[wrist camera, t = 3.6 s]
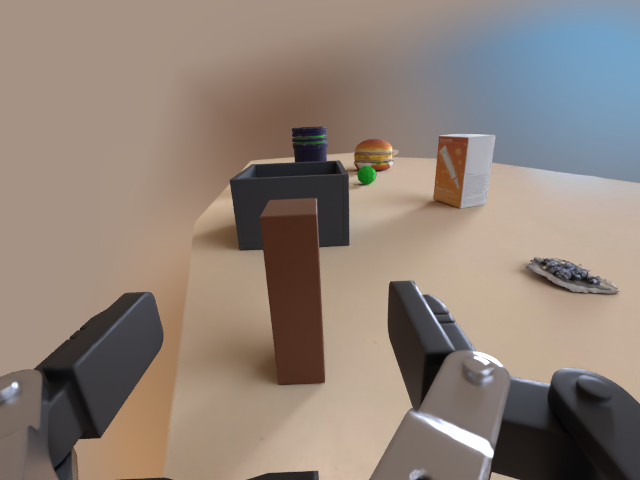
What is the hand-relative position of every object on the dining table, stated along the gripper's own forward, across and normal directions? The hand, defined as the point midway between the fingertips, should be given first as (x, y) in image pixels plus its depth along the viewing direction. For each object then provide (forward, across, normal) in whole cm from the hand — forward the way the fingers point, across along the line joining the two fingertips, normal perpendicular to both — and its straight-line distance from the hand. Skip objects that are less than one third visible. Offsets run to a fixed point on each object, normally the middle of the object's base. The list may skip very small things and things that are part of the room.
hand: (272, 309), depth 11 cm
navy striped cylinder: (+86, 0, +11) cm, 86 cm away
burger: (+103, -21, +11) cm, 105 cm away
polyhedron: (+78, -15, +11) cm, 80 cm away
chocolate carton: (+10, 0, +11) cm, 15 cm away
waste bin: (+41, +2, +11) cm, 42 cm away
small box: (+54, -30, +11) cm, 63 cm away
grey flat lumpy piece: (+21, -28, +11) cm, 37 cm away
